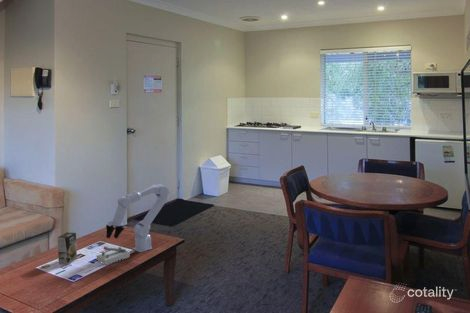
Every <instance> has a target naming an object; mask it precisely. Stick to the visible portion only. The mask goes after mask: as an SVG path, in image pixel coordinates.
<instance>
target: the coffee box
mask: <svg viewBox="0 0 470 313" xmlns="http://www.w3.org/2000/svg"><path fill="white" fill-rule="evenodd" d="M77 247H78V246H77V232H64V233H63V234H61V235H59V236H57V254H58V256H57V257H58V264H60V265H70V264H71V263H72V262H74V261H75V260H77V259H78V252H77Z"/></svg>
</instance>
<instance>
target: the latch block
mask: <svg viewBox="0 0 470 313" xmlns="http://www.w3.org/2000/svg"><path fill="white" fill-rule="evenodd" d="M118 249H123V251H111V250H108V251H107V252H101V253H100V254H97V255H96V261H97V260H98V261H97V262H99V261H100V262H99V263H101V262H102V263H101V264H103V263H104V264H103V265H105V264H108V265H110V264H109V263H111V264H113V263H112V262H114V263H116V262H119V261H122V260H124V259H125V260H126V259H128V258H130V257H131V255H130V254H131V253H130V251H128V250H126V249H125V248H122V247H118ZM121 259H122V260H121ZM118 260H119V261H118ZM115 261H116V262H115Z"/></svg>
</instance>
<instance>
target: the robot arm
mask: <svg viewBox="0 0 470 313" xmlns="http://www.w3.org/2000/svg"><path fill="white" fill-rule="evenodd" d="M151 194H155V195H156V196H155V197H156V200H155V202H154V203H153V205H152V206H151V208H150V210H148V212H147V214H146V215H145V216H144V217H143V219H142V220H139V221H138V223H137V224H135V225H134V226H133V229H132V230H133V232H134V234H135V235H134V238H135V239H134V240H135V241H134V242H135V247H134V248H132V250H134V251H136V252H138V253H143V252H146V251H148V250H152V249H153V247H152V237H151V234H149V232H150V230H151V224H152V223H153V221H154V220H155V218H156V216H157V215H158V214H159V213H160V211H161V210H162V208H163V206H164V205H165V204H166V202H167V199H168V195H169V194H170V190H169V186H167V185H164V184H161V183H155V184H153V185H151V186H149V187H148V188H145V189H143V190H141V191H135V190H134V191H132V193H129V194H125V196H120V197H119V198H118V199H117V207H116V210H115V213H114V215H113V218H112V220H111V221H109V222H107V224H106V225H105V227H106V236H105V237H106V238H107V239H110V238H111V236H112V234H113V232H114V234H113V238H115V239H118V238H119V236H120V235H121V233H122V232H124V230H125V224H126V223H123V221H124V218H125V216H126V212H127V209H128V208H129V207H130V206H131V204H132V205H133V204H134V203H136V202H139V201H141V200H142V199H141V198H143V197H145V196H149V195H151Z"/></svg>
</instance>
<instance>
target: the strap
mask: <svg viewBox="0 0 470 313" xmlns="http://www.w3.org/2000/svg"><path fill="white" fill-rule="evenodd" d="M123 249H124V248H121V249H119V248H115V247H108V246H103V250H106V251H123Z"/></svg>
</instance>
